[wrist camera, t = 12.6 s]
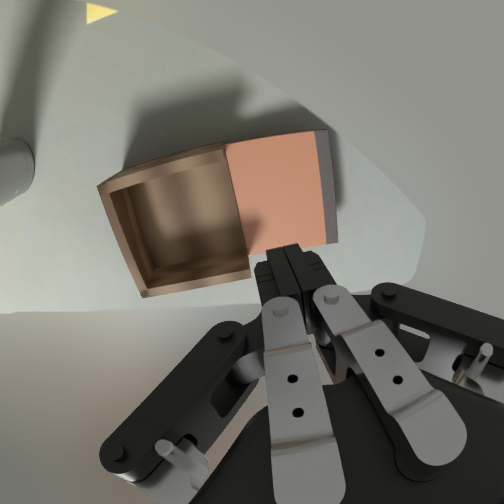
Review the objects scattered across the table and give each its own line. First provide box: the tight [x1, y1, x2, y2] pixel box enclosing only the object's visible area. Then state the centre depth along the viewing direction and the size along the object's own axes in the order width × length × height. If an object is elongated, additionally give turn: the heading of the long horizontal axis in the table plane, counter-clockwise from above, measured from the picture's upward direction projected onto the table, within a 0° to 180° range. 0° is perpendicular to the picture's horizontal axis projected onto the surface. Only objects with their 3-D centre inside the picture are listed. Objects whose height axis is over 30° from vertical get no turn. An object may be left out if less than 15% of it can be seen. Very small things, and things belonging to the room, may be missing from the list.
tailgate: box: [224, 129, 338, 255], centre depth 33 cm, size 1×15×12 cm
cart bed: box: [97, 142, 251, 298], centre depth 33 cm, size 14×15×8 cm
